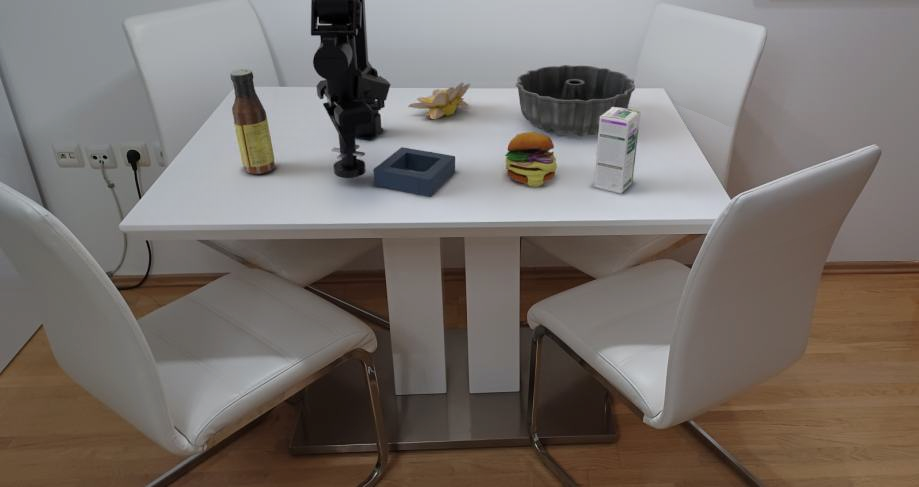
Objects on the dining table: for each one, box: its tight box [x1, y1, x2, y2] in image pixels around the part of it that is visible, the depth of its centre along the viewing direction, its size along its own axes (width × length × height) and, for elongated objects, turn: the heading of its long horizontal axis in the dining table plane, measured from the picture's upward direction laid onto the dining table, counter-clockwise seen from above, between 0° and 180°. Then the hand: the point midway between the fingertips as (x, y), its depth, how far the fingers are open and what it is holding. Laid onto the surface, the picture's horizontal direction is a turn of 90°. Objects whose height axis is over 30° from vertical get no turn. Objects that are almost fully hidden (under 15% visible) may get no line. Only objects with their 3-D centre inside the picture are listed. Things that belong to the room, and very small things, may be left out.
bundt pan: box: [515, 64, 636, 137], centre depth 163 cm, size 26×26×10 cm
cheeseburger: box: [504, 131, 558, 188], centre depth 139 cm, size 10×11×10 cm
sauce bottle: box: [229, 68, 275, 175], centre depth 139 cm, size 6×6×20 cm
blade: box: [331, 131, 367, 179], centre depth 135 cm, size 7×7×10 cm
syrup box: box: [593, 107, 641, 194], centre depth 133 cm, size 6×6×14 cm
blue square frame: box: [372, 146, 456, 197], centre depth 139 cm, size 12×12×4 cm
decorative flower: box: [407, 82, 471, 120], centre depth 169 cm, size 15×11×10 cm
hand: (347, 145), depth 135 cm, fingers closed on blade, 3 cm apart
